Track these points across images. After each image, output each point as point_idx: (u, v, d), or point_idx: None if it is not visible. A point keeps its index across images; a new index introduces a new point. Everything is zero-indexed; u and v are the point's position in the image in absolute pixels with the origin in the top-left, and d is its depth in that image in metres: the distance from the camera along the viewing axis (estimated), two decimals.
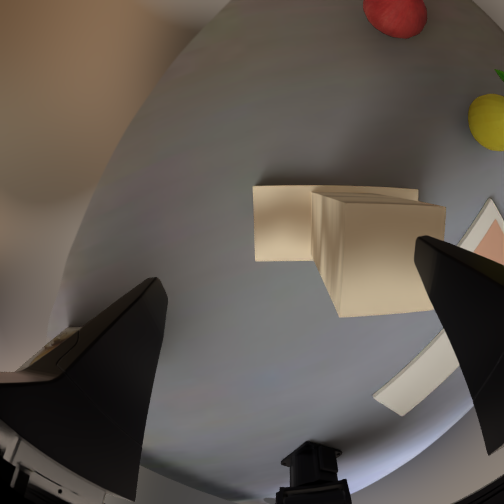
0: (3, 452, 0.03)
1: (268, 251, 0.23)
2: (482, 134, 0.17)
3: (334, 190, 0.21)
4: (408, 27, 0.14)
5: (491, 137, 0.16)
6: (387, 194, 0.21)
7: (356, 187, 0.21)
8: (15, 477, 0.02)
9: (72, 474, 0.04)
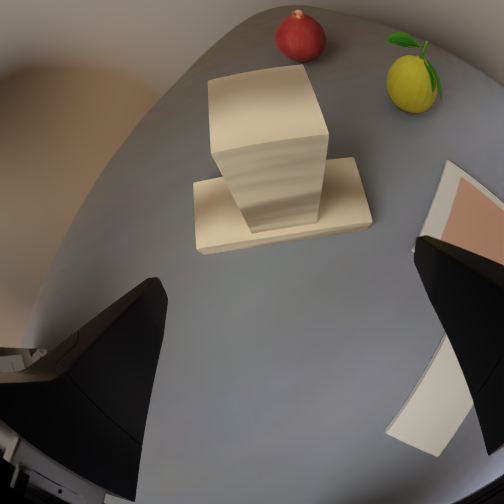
0: (3, 452, 0.03)
1: (208, 237, 0.22)
2: (400, 94, 0.21)
3: None
4: (307, 42, 0.23)
5: (407, 90, 0.20)
6: None
7: None
8: (15, 477, 0.02)
9: (72, 474, 0.04)
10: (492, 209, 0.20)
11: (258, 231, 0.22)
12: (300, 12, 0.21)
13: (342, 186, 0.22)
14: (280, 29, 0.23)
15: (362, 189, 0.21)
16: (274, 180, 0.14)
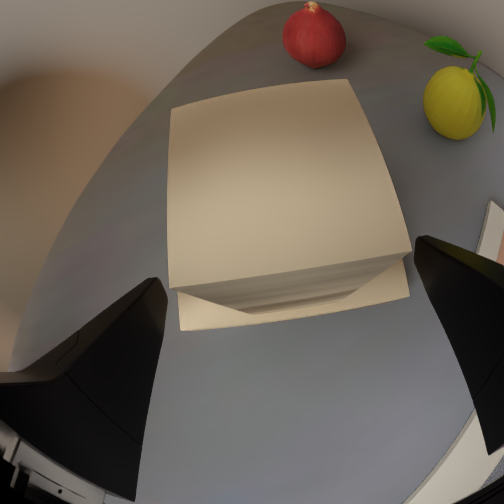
0: (3, 452, 0.03)
1: (195, 316, 0.17)
2: (444, 117, 0.15)
3: None
4: (324, 42, 0.18)
5: (453, 113, 0.14)
6: None
7: None
8: (15, 477, 0.02)
9: (72, 474, 0.04)
10: None
11: (261, 312, 0.16)
12: (315, 4, 0.16)
13: None
14: (289, 26, 0.18)
15: None
16: (290, 293, 0.09)
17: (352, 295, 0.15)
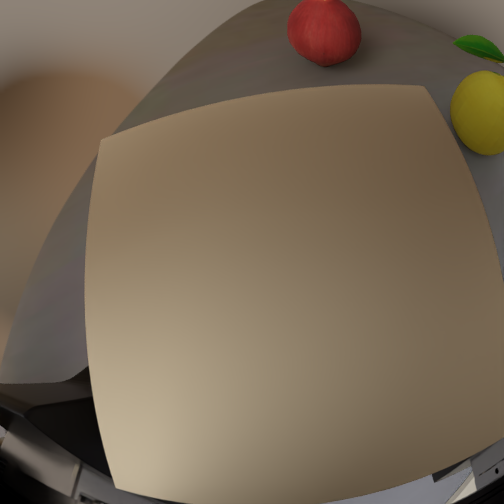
0: (61, 486, 0.02)
1: None
2: (477, 130, 0.12)
3: None
4: (338, 36, 0.14)
5: (488, 126, 0.11)
6: None
7: None
8: None
9: (136, 495, 0.04)
10: None
11: None
12: None
13: None
14: (295, 16, 0.15)
15: None
16: None
17: None
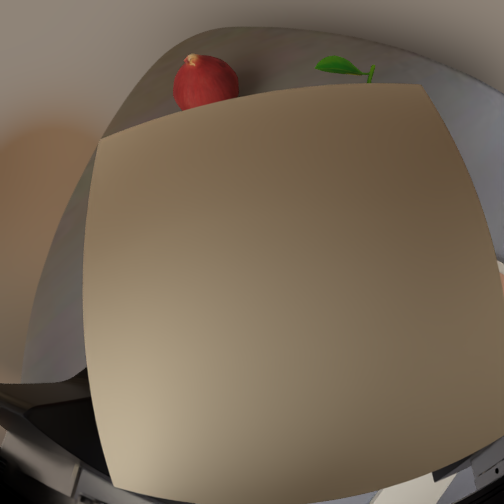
0: (61, 486, 0.02)
1: None
2: None
3: None
4: (211, 96, 0.20)
5: None
6: None
7: None
8: None
9: (136, 495, 0.04)
10: None
11: None
12: (194, 57, 0.18)
13: None
14: (175, 86, 0.20)
15: None
16: None
17: None
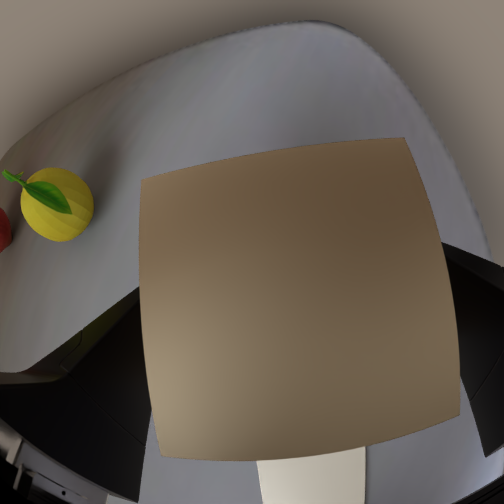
0: (6, 454, 0.03)
1: None
2: (48, 237, 0.17)
3: None
4: None
5: (44, 232, 0.16)
6: None
7: None
8: (18, 479, 0.02)
9: (75, 475, 0.04)
10: None
11: None
12: None
13: None
14: None
15: None
16: None
17: None
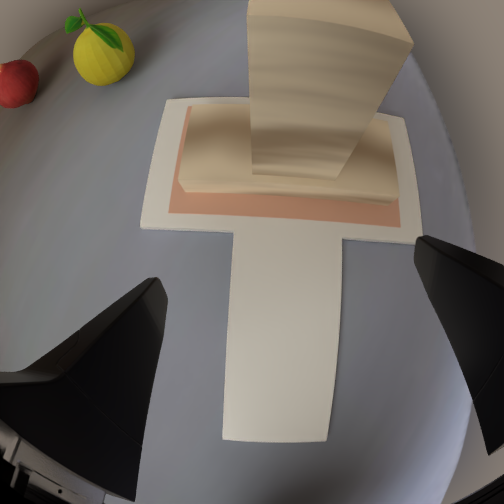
0: (3, 452, 0.03)
1: (195, 168, 0.17)
2: (87, 75, 0.17)
3: None
4: (13, 87, 0.17)
5: (88, 67, 0.16)
6: None
7: None
8: (15, 477, 0.02)
9: (72, 474, 0.04)
10: None
11: (261, 174, 0.16)
12: None
13: (371, 147, 0.17)
14: None
15: (393, 157, 0.17)
16: (315, 92, 0.09)
17: (347, 179, 0.16)
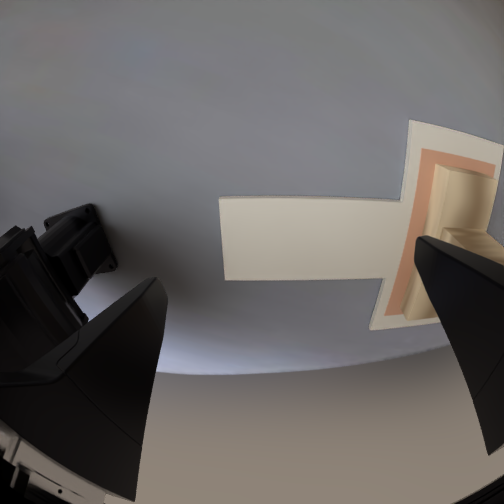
0: (3, 452, 0.03)
1: (454, 185, 0.16)
2: None
3: None
4: None
5: None
6: None
7: None
8: (15, 477, 0.02)
9: (72, 474, 0.04)
10: None
11: (441, 233, 0.18)
12: None
13: None
14: None
15: (430, 317, 0.23)
16: None
17: None
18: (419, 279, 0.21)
